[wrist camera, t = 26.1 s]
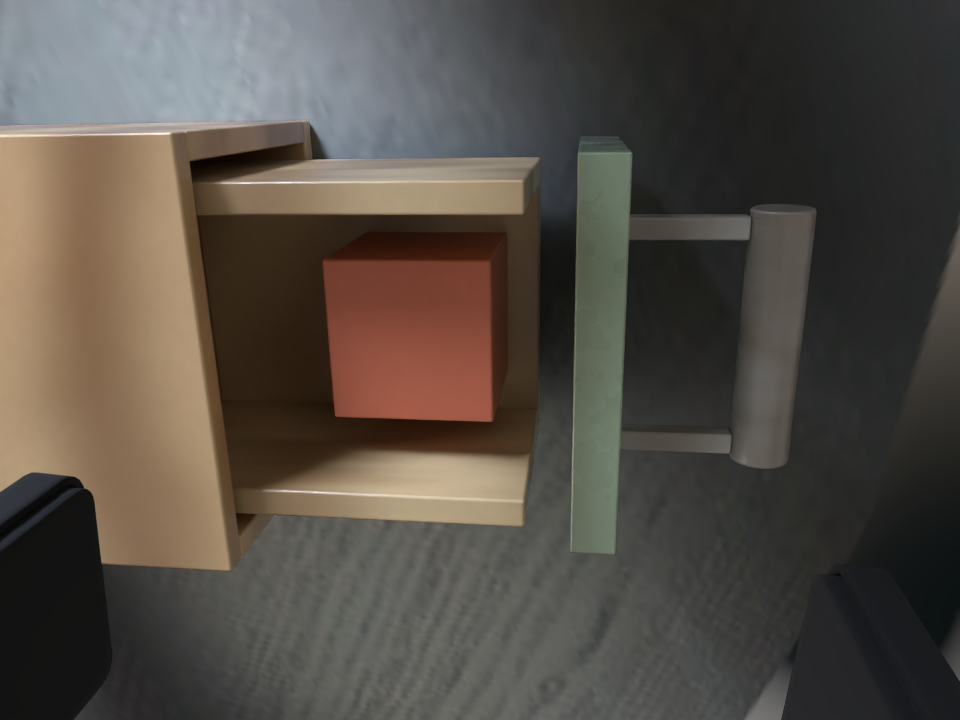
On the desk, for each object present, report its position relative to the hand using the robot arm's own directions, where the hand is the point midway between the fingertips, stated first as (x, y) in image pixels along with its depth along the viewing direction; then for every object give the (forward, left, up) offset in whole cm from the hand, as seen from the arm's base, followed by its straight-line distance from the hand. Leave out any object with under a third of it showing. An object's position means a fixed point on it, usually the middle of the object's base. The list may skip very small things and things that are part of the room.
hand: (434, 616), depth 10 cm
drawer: (0, -2, -17) cm, 17 cm away
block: (0, -3, -16) cm, 17 cm away
